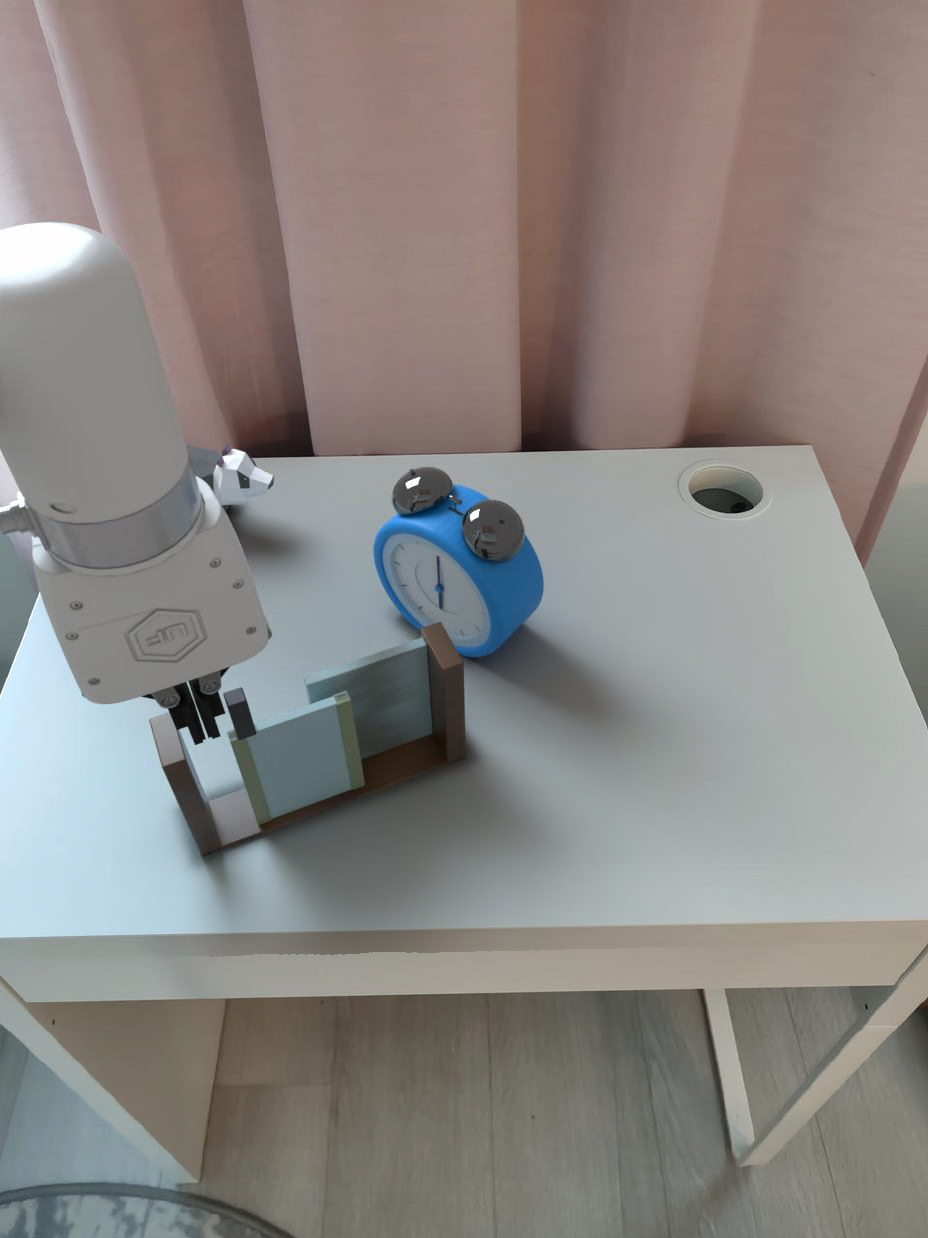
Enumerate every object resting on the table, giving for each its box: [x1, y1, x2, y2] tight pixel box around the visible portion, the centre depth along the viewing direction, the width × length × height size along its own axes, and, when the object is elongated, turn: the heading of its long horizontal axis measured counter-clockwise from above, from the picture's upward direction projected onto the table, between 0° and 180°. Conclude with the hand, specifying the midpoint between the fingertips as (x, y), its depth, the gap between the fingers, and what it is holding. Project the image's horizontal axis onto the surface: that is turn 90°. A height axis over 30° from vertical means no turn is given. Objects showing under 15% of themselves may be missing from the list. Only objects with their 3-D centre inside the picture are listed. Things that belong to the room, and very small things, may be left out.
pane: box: [222, 686, 365, 825], centre depth 66 cm, size 8×1×14 cm, turn 113°
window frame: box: [148, 622, 467, 858], centre depth 69 cm, size 20×4×12 cm, turn 113°
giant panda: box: [186, 443, 275, 512], centre depth 89 cm, size 15×6×10 cm, turn 80°
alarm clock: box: [372, 466, 545, 658], centre depth 78 cm, size 13×6×15 cm, turn 51°
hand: (202, 722), depth 61 cm, fingers closed
